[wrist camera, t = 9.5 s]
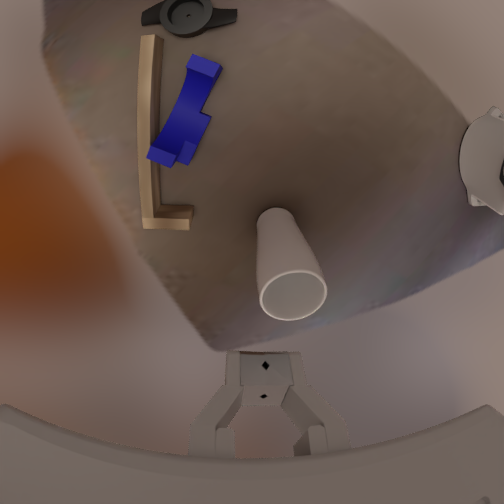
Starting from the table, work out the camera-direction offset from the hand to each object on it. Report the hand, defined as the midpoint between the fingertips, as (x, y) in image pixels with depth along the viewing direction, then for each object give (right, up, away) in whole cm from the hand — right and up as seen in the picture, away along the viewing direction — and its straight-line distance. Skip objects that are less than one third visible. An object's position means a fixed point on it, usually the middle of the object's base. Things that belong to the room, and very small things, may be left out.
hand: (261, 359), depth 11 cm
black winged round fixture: (-8, +32, +12) cm, 35 cm away
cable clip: (-7, +21, +19) cm, 30 cm away
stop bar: (-10, +19, +20) cm, 30 cm away
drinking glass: (+3, +8, +28) cm, 29 cm away
